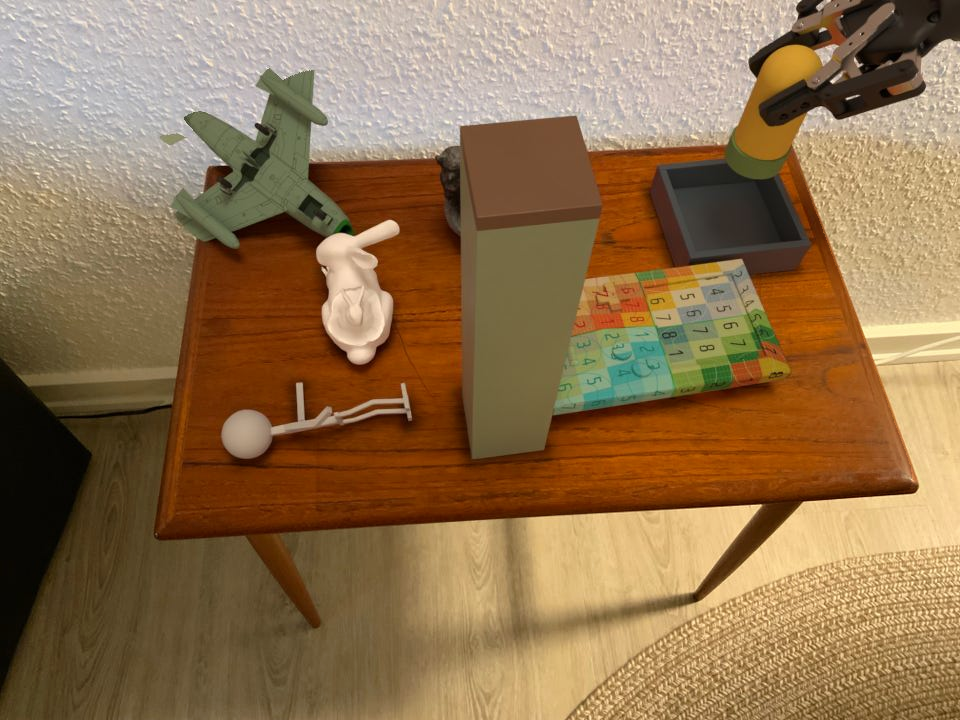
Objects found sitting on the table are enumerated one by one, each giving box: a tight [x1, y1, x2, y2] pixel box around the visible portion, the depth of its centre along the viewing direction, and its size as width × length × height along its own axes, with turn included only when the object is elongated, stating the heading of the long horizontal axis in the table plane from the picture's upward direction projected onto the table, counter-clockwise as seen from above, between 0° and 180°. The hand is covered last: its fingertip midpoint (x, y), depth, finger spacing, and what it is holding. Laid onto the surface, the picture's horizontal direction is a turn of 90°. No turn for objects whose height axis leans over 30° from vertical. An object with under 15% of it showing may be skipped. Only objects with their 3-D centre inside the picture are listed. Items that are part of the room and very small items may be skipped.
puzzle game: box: [552, 259, 792, 416], centre depth 63 cm, size 12×5×20 cm
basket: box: [649, 157, 812, 276], centre depth 71 cm, size 11×11×4 cm
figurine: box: [220, 382, 413, 460], centre depth 59 cm, size 6×6×15 cm
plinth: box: [459, 114, 604, 460], centre depth 49 cm, size 6×6×30 cm
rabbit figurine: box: [315, 219, 401, 366], centre depth 63 cm, size 12×8×10 cm, turn 10°
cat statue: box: [434, 145, 461, 238], centre depth 67 cm, size 12×7×10 cm, turn 86°
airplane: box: [158, 67, 355, 250], centre depth 73 cm, size 24×23×10 cm
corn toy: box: [724, 45, 824, 179], centre depth 59 cm, size 5×5×11 cm
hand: (759, 93), depth 58 cm, fingers closed on corn toy, 4 cm apart
